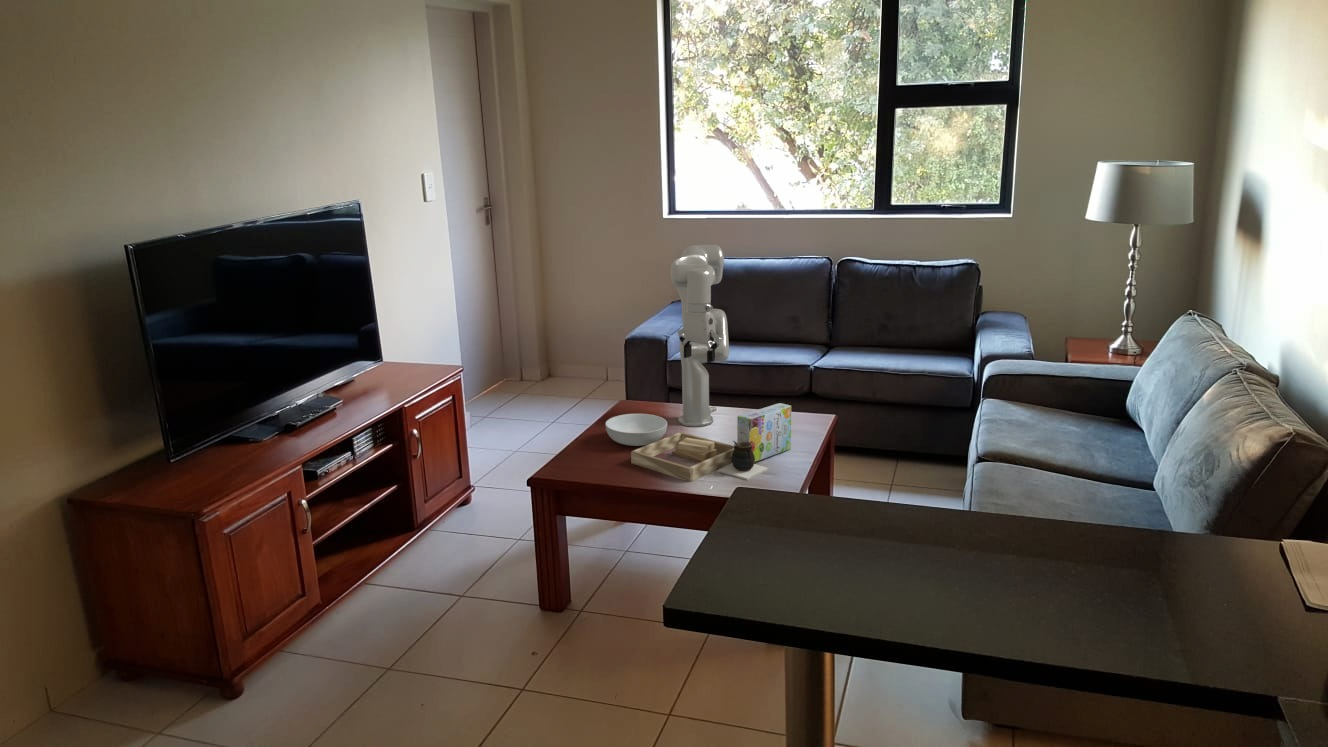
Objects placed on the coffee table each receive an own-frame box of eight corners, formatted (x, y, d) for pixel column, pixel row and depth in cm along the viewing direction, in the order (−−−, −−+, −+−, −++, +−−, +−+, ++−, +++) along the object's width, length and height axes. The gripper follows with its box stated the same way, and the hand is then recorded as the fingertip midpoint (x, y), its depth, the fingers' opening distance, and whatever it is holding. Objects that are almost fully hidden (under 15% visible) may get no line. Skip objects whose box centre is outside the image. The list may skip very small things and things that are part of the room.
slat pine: (686, 442, 295) (686, 437, 294) (714, 447, 290) (714, 441, 290) (678, 448, 290) (678, 443, 289) (706, 453, 285) (706, 447, 285)
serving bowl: (641, 456, 292) (641, 436, 290) (593, 444, 304) (592, 425, 302) (679, 439, 308) (679, 420, 306) (632, 428, 320) (631, 409, 318)
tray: (681, 443, 304) (681, 431, 303) (739, 459, 288) (739, 447, 287) (631, 463, 286) (631, 451, 285) (690, 481, 270) (690, 469, 269)
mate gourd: (759, 468, 279) (760, 437, 276) (744, 475, 273) (745, 443, 271) (741, 462, 283) (741, 432, 281) (726, 469, 278) (726, 438, 275)
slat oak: (689, 446, 297) (689, 441, 296) (717, 455, 289) (717, 449, 288) (675, 452, 292) (675, 446, 292) (703, 460, 284) (703, 454, 284)
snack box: (777, 445, 299) (779, 402, 296) (791, 449, 296) (793, 405, 292) (735, 460, 285) (736, 414, 281) (749, 465, 281) (750, 418, 278)
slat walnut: (686, 451, 298) (686, 446, 297) (719, 461, 289) (719, 455, 288) (672, 457, 293) (671, 451, 292) (705, 467, 284) (705, 461, 283)
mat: (739, 461, 286) (739, 459, 286) (768, 469, 279) (768, 467, 279) (718, 471, 278) (718, 469, 278) (746, 480, 271) (746, 478, 271)
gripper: (727, 308, 284) (727, 361, 289) (685, 302, 295) (686, 353, 300) (713, 312, 279) (713, 366, 283) (670, 306, 290) (671, 357, 294)
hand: (699, 359), depth 292 cm, fingers open, 9 cm apart
